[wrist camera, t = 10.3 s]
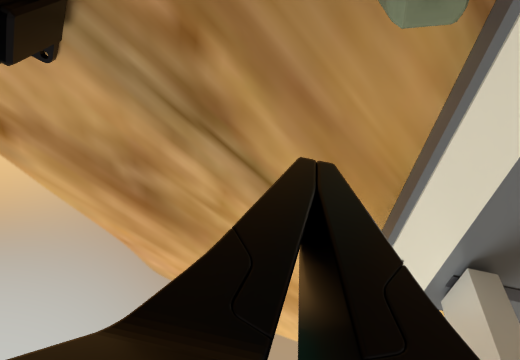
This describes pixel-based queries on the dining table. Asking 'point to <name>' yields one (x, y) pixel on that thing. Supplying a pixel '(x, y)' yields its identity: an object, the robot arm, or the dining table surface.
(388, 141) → the dining table surface
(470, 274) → the lever
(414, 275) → the switch bank
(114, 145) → the dining table surface
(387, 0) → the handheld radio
